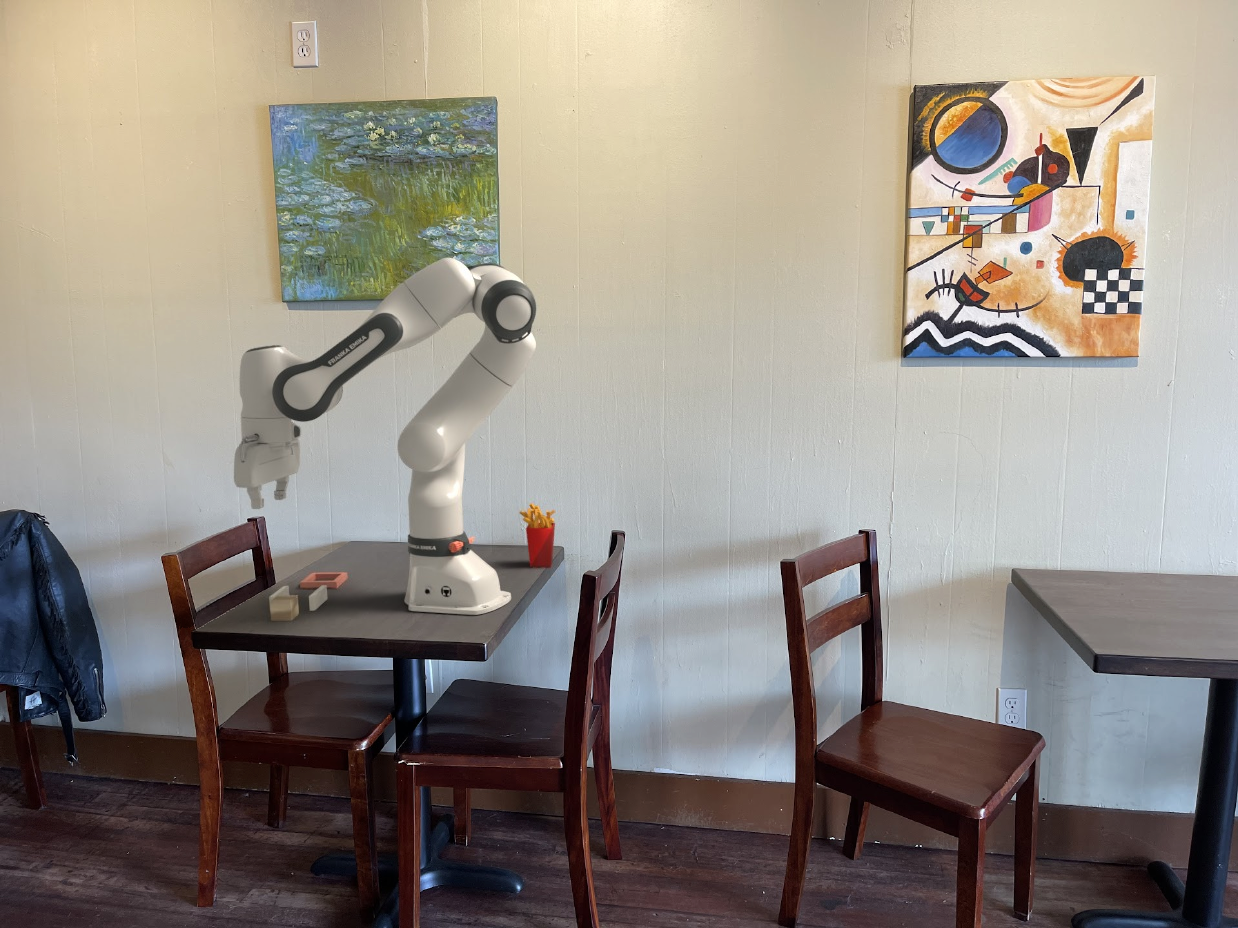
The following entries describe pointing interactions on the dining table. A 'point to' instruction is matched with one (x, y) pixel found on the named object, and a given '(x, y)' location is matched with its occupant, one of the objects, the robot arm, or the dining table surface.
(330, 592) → the dining table surface
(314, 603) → the walled lane
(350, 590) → the dining table surface
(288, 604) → the beech block
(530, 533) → the french fries
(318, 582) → the frame
